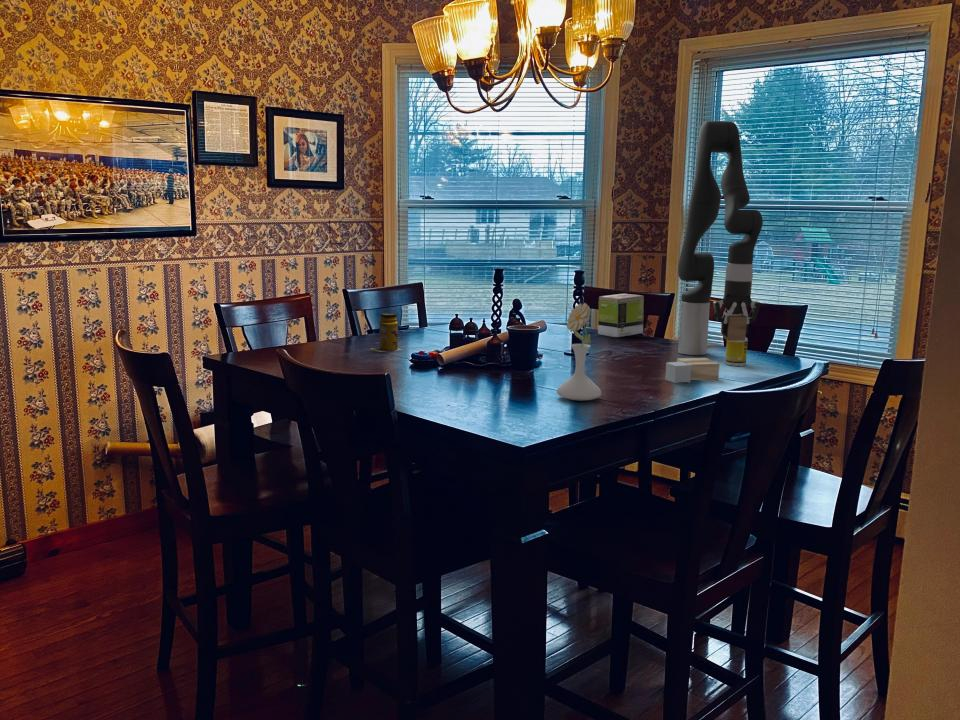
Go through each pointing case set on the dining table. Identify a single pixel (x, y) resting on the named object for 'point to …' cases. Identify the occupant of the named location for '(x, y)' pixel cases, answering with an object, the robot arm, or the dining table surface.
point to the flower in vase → (579, 360)
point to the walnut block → (736, 328)
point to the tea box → (620, 315)
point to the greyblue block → (678, 372)
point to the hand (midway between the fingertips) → (733, 335)
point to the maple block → (702, 368)
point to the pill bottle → (736, 352)
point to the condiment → (388, 333)
